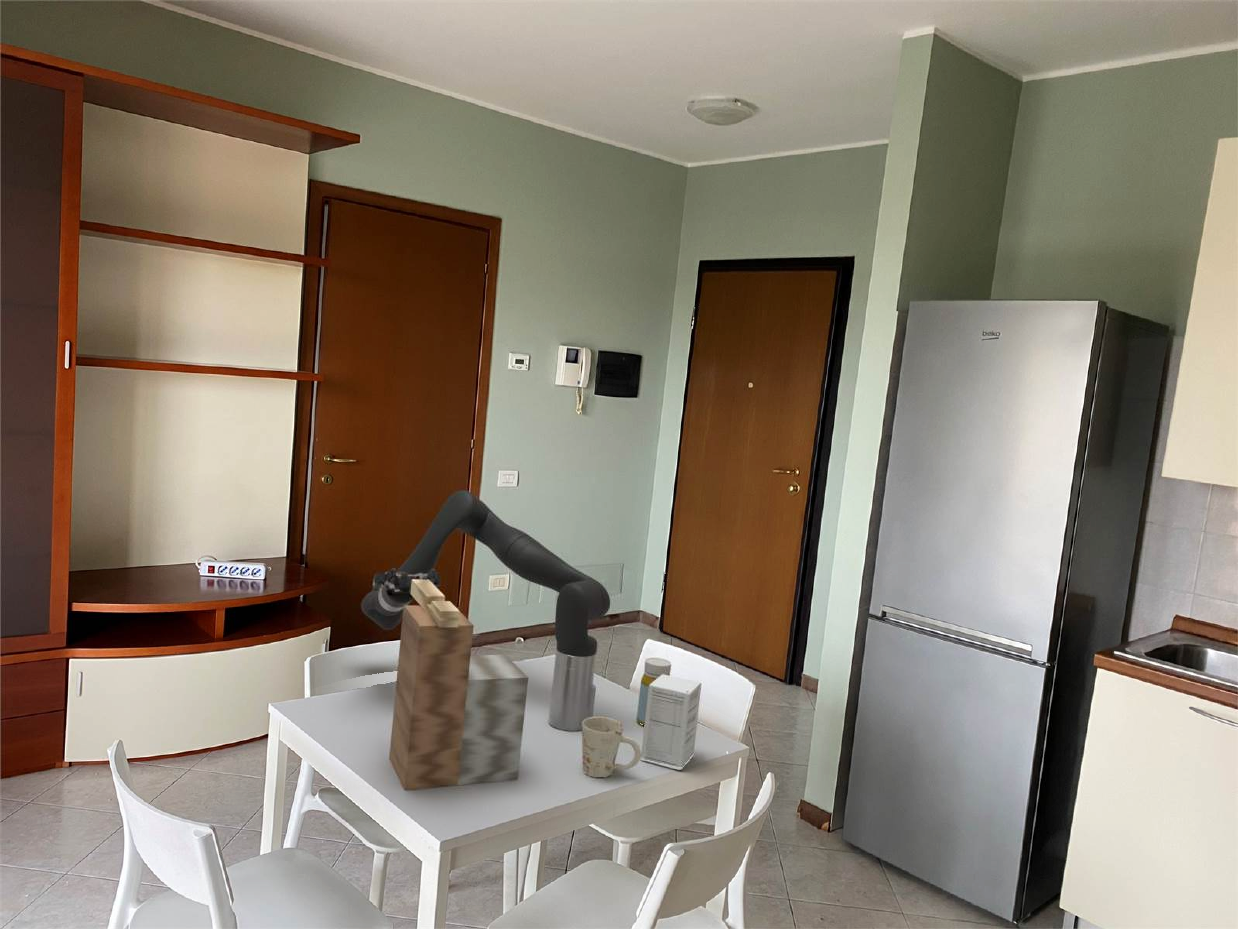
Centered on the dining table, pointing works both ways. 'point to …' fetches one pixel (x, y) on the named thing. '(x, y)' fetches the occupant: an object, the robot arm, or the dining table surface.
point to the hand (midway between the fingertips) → (414, 572)
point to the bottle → (651, 673)
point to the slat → (434, 603)
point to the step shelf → (453, 708)
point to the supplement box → (671, 720)
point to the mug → (604, 746)
